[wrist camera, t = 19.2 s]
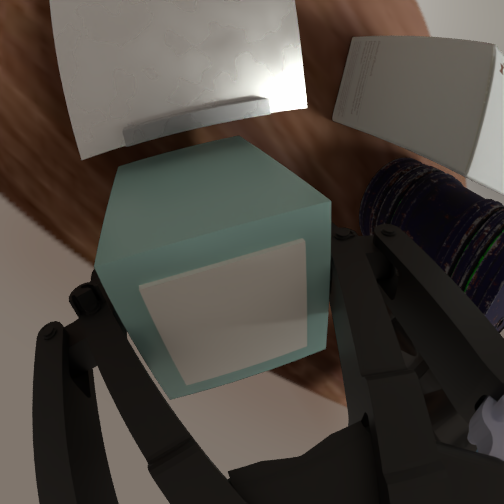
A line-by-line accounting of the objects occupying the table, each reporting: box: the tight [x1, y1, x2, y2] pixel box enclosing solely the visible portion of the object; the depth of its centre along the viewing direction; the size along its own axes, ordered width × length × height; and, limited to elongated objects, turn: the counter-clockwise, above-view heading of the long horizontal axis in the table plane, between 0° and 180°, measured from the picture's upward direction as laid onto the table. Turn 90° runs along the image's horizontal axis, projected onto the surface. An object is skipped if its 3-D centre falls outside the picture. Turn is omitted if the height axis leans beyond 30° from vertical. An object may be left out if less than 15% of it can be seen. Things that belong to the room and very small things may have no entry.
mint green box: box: [94, 136, 331, 400], centre depth 14 cm, size 7×7×10 cm
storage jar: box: [359, 158, 504, 333], centre depth 22 cm, size 10×10×15 cm
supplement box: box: [332, 36, 504, 195], centre depth 16 cm, size 7×7×13 cm
